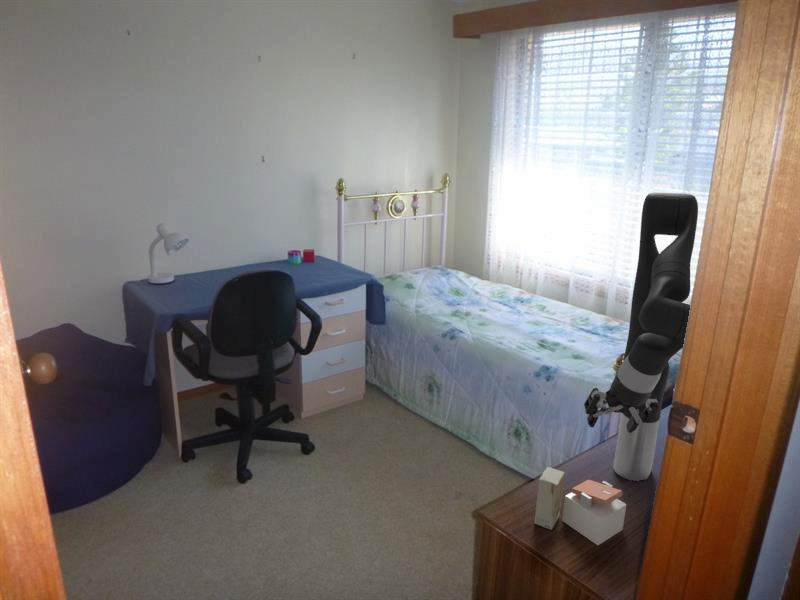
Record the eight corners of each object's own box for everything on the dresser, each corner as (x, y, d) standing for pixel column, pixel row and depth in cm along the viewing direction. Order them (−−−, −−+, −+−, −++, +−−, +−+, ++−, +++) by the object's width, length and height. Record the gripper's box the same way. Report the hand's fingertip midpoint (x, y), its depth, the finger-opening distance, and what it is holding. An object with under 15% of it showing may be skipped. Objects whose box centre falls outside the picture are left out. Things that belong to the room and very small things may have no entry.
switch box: (586, 506, 144) (591, 472, 141) (622, 529, 137) (628, 494, 134) (562, 520, 139) (566, 485, 136) (597, 545, 132) (603, 508, 129)
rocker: (589, 488, 141) (588, 478, 140) (622, 500, 133) (621, 490, 133) (572, 497, 137) (571, 487, 137) (606, 510, 130) (605, 499, 130)
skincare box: (551, 530, 136) (557, 485, 132) (533, 524, 138) (538, 479, 134) (560, 515, 141) (565, 471, 137) (542, 508, 144) (547, 465, 140)
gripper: (666, 369, 124) (637, 418, 134) (599, 359, 124) (575, 409, 134) (676, 396, 118) (645, 445, 129) (605, 386, 118) (580, 436, 129)
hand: (609, 426), depth 132 cm, fingers open, 8 cm apart
